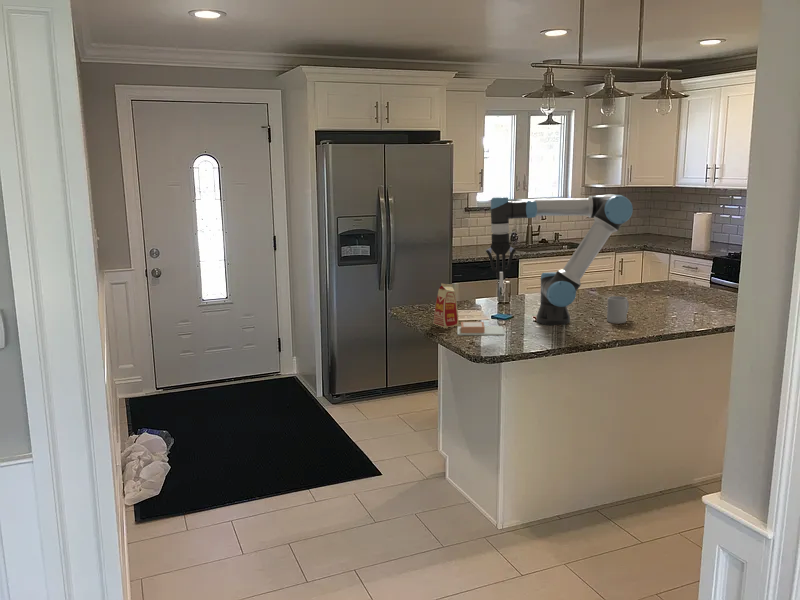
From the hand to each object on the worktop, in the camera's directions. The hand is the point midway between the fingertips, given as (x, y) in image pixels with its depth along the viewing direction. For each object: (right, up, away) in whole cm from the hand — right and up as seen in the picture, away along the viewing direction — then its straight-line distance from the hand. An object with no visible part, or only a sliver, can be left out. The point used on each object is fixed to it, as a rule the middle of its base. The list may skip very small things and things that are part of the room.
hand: (501, 286), depth 298 cm
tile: (-8, -18, +1) cm, 19 cm away
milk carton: (-23, -18, +14) cm, 32 cm away
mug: (+56, -16, +14) cm, 60 cm away
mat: (-9, -20, +1) cm, 22 cm away
